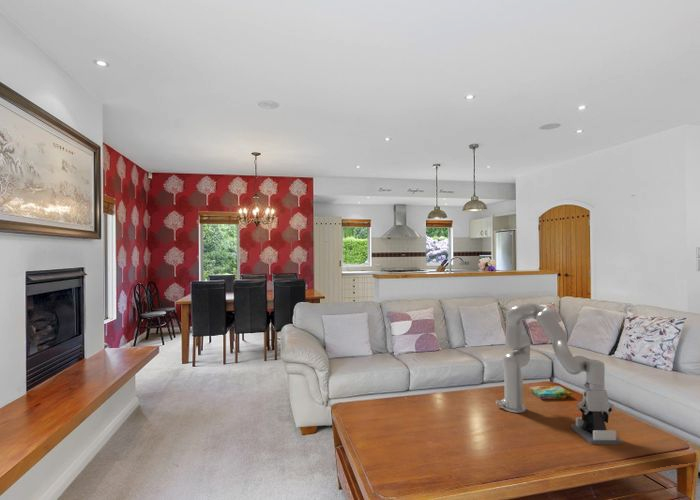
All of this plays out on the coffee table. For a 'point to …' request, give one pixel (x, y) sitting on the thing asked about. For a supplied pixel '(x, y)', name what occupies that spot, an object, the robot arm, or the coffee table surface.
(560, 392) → the puzzle game
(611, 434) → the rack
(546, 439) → the coffee table surface
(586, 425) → the phone stand
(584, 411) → the robot arm
